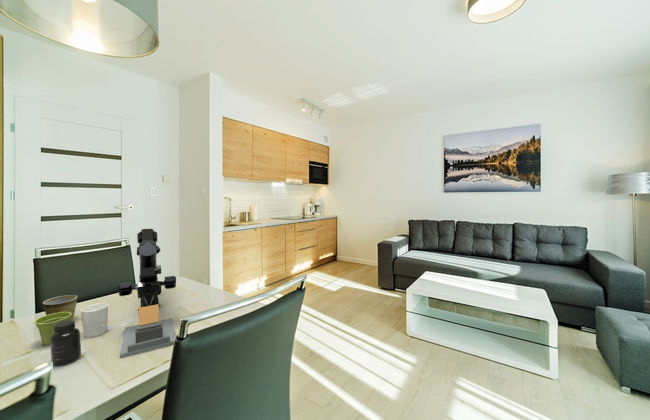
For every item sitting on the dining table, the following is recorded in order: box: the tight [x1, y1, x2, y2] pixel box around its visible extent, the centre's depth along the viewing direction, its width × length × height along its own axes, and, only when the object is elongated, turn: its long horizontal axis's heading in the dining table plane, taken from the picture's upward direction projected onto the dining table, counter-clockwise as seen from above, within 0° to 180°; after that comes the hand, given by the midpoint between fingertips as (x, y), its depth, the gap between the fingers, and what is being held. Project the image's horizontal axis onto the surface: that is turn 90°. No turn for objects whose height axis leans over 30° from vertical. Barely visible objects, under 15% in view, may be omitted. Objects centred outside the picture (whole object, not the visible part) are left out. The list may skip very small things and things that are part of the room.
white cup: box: [80, 302, 109, 338], centre depth 102 cm, size 8×8×10 cm
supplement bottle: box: [49, 319, 82, 367], centre depth 86 cm, size 7×7×12 cm
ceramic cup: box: [42, 294, 78, 320], centre depth 110 cm, size 13×10×10 cm
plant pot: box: [33, 312, 71, 346], centre depth 97 cm, size 9×9×9 cm
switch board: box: [119, 317, 177, 359], centre depth 100 cm, size 21×16×5 cm
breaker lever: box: [137, 304, 161, 330], centre depth 97 cm, size 2×7×7 cm, turn 122°
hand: (148, 305), depth 102 cm, fingers closed
